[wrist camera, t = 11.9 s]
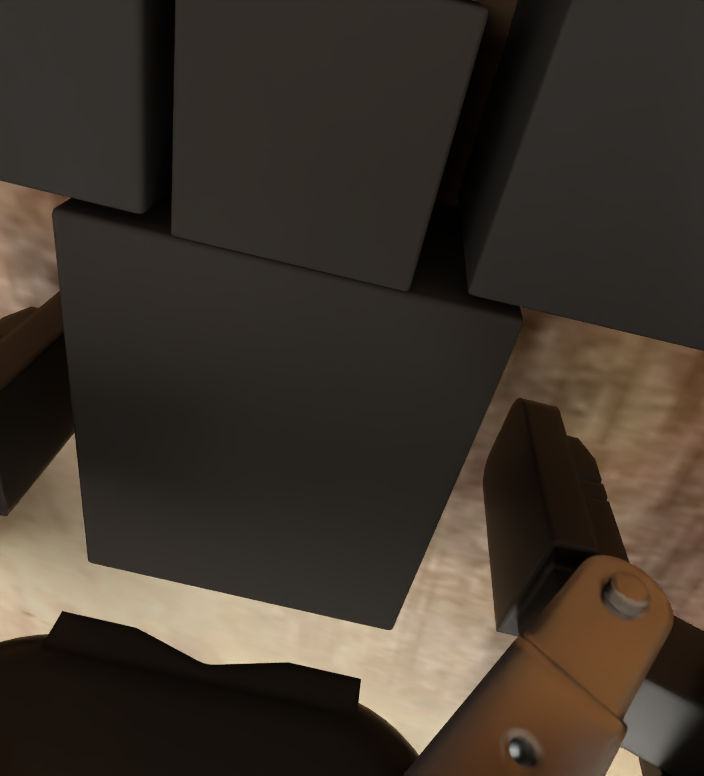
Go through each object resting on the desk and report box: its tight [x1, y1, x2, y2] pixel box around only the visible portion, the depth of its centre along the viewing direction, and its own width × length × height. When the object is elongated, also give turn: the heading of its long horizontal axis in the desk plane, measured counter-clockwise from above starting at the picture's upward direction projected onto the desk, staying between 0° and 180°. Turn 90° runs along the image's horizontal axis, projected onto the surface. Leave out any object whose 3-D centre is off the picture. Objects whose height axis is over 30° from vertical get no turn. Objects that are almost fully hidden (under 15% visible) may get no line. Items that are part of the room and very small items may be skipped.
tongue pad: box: [52, 0, 524, 630], centre depth 10 cm, size 10×6×4 cm, turn 169°
